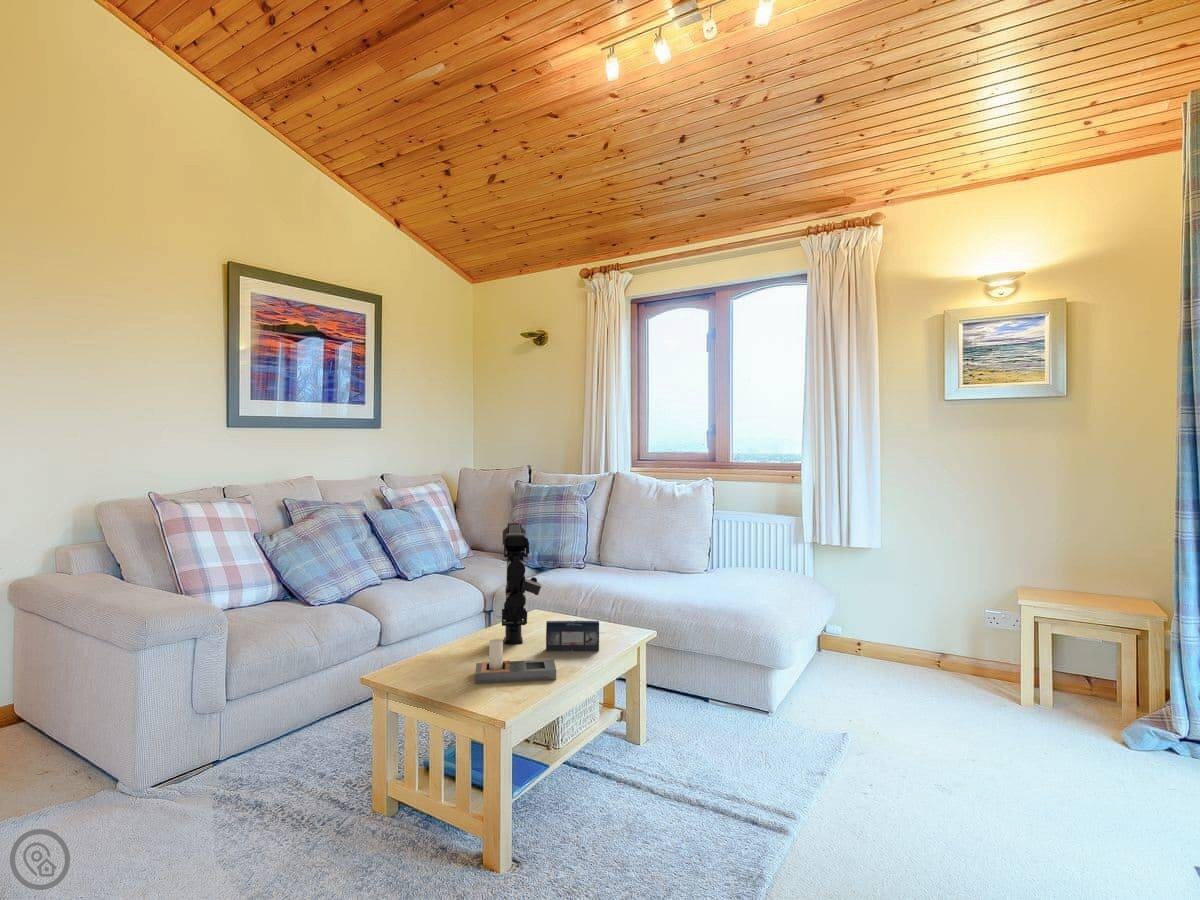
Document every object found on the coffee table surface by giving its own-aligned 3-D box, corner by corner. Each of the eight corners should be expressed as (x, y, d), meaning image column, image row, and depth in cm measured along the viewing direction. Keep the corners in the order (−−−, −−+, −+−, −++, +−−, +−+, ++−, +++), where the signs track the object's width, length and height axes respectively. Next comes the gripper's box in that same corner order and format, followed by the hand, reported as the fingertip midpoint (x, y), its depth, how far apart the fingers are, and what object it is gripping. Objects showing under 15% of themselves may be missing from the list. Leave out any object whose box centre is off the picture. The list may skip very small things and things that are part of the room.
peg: (492, 674, 187) (492, 638, 187) (504, 675, 186) (504, 639, 186) (487, 679, 183) (487, 642, 183) (499, 680, 182) (500, 643, 182)
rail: (476, 672, 188) (476, 662, 188) (553, 668, 192) (553, 658, 192) (475, 684, 179) (475, 672, 179) (556, 679, 183) (556, 668, 183)
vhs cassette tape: (545, 651, 208) (545, 622, 208) (546, 648, 211) (546, 620, 211) (599, 652, 208) (599, 623, 208) (599, 649, 211) (599, 620, 211)
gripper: (541, 578, 192) (541, 627, 192) (538, 566, 211) (537, 611, 211) (506, 578, 190) (505, 628, 190) (505, 566, 209) (505, 612, 209)
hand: (514, 619), depth 200 cm, fingers open, 9 cm apart
